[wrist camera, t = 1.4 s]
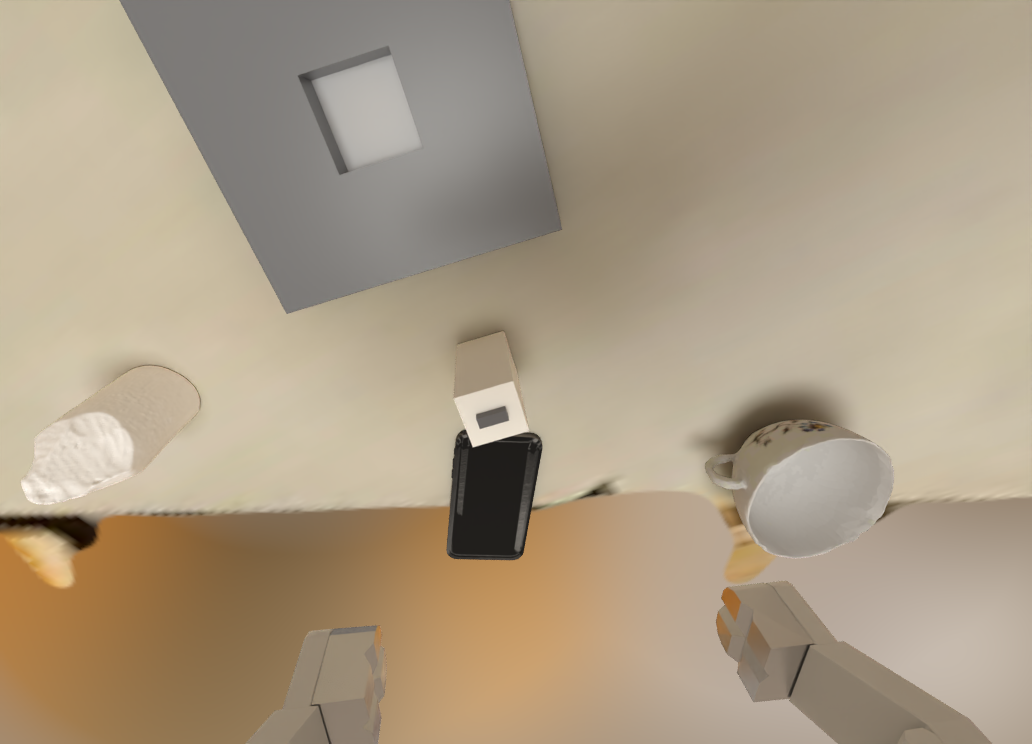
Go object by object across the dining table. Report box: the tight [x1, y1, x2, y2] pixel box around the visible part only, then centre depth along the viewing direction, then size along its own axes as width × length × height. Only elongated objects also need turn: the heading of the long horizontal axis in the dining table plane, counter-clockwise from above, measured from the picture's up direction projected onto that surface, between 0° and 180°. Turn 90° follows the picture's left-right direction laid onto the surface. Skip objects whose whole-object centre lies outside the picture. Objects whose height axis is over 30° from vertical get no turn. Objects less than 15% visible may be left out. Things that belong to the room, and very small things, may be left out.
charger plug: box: [454, 331, 529, 447], centre depth 35 cm, size 4×4×10 cm
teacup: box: [705, 420, 894, 558], centre depth 42 cm, size 15×12×8 cm
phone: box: [447, 430, 542, 560], centre depth 45 cm, size 8×1×15 cm
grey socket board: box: [120, 0, 562, 314], centre depth 30 cm, size 20×20×3 cm
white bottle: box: [21, 366, 200, 505], centre depth 33 cm, size 6×12×6 cm
